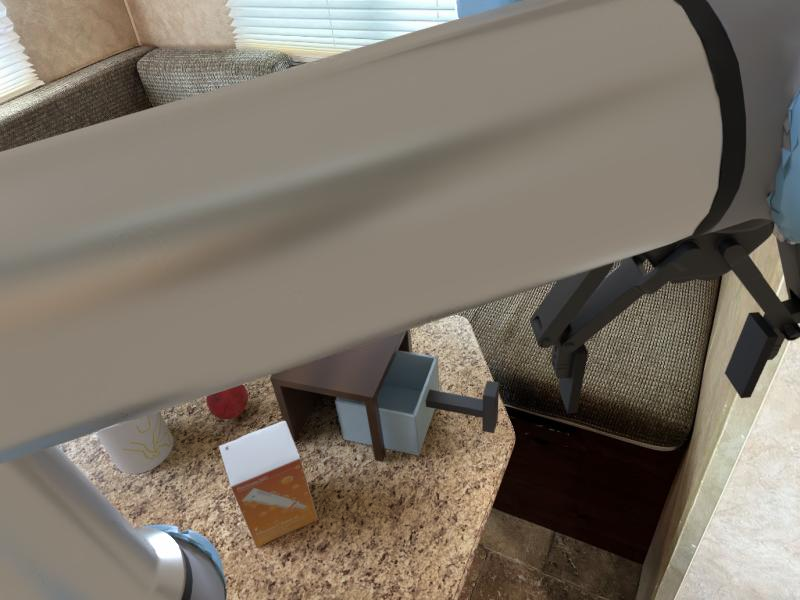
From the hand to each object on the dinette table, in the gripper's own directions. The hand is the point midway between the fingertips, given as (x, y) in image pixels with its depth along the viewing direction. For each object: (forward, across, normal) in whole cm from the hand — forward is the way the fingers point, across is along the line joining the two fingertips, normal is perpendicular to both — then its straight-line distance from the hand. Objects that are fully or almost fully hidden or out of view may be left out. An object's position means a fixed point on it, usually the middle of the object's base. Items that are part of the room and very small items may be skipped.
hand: (652, 392), depth 48 cm
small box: (+31, -36, +11) cm, 49 cm away
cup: (+31, -57, +24) cm, 69 cm away
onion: (+31, -45, +28) cm, 62 cm away
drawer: (+30, -17, +23) cm, 42 cm away
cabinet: (+31, -27, +27) cm, 49 cm away
